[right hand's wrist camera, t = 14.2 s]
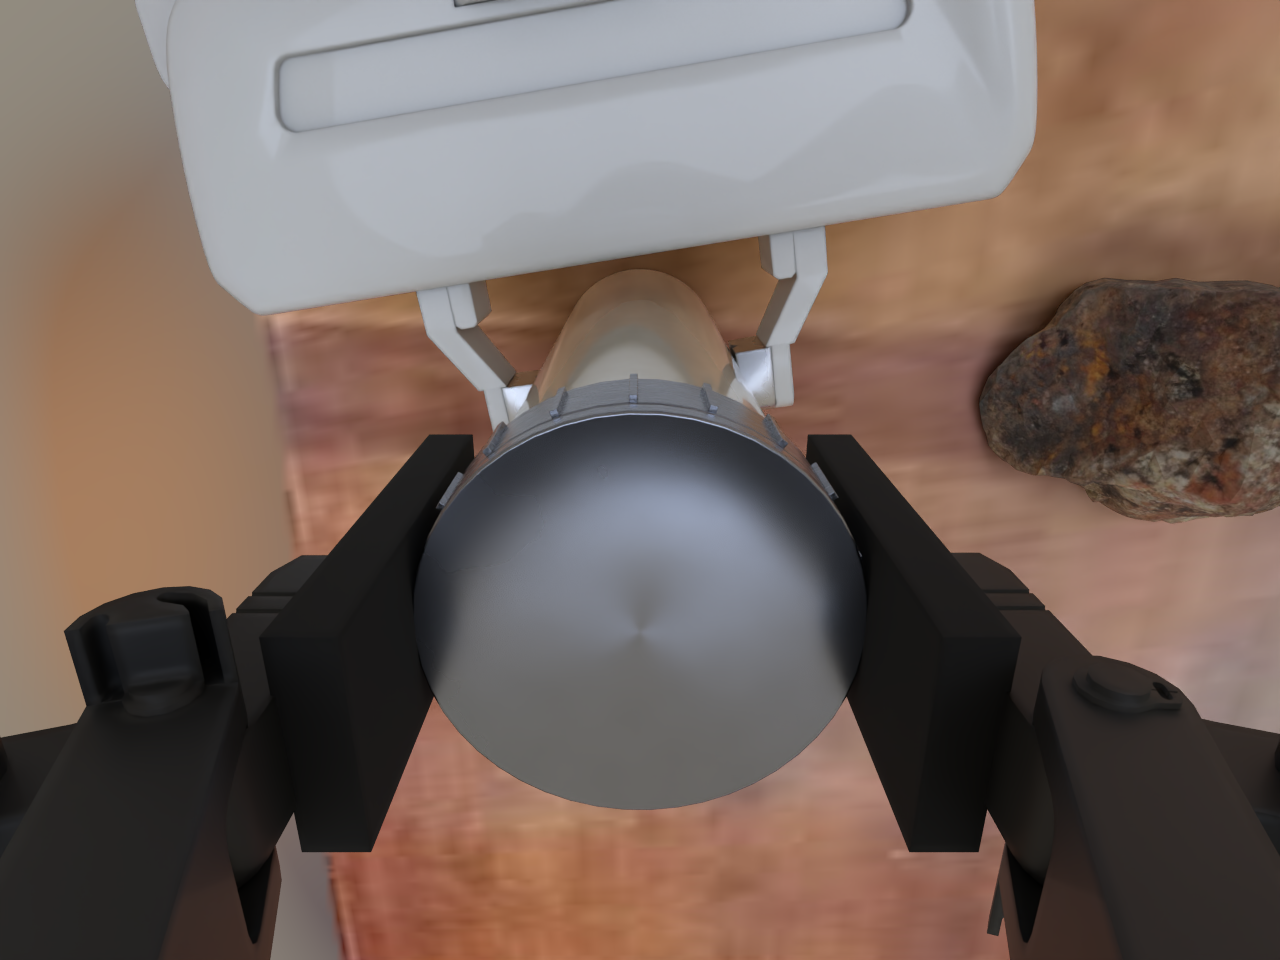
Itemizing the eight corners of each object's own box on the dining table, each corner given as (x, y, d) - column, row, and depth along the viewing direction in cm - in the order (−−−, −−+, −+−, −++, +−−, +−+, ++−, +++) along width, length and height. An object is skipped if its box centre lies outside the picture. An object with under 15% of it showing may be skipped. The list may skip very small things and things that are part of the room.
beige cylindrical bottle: (605, 442, 29) (555, 823, 12) (537, 310, 28) (360, 526, 10) (739, 382, 28) (896, 694, 11) (677, 241, 27) (749, 347, 9)
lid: (554, 786, 13) (541, 868, 12) (357, 481, 11) (310, 530, 10) (896, 654, 12) (934, 724, 11) (748, 297, 10) (768, 317, 9)
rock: (1032, 202, 27) (943, 469, 30) (1171, 204, 19) (1029, 566, 22) (1449, 280, 27) (1312, 540, 30) (1770, 315, 19) (1533, 664, 22)
